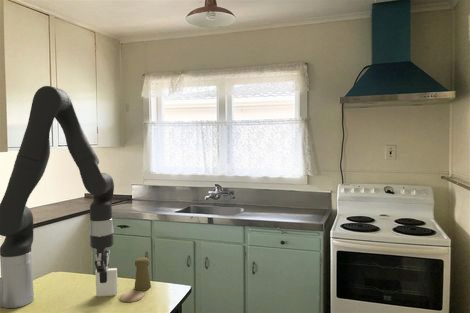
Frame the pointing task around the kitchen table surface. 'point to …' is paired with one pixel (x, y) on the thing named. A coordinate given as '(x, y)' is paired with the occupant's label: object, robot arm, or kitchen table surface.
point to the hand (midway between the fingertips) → (103, 282)
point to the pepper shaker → (142, 274)
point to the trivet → (131, 296)
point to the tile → (107, 283)
